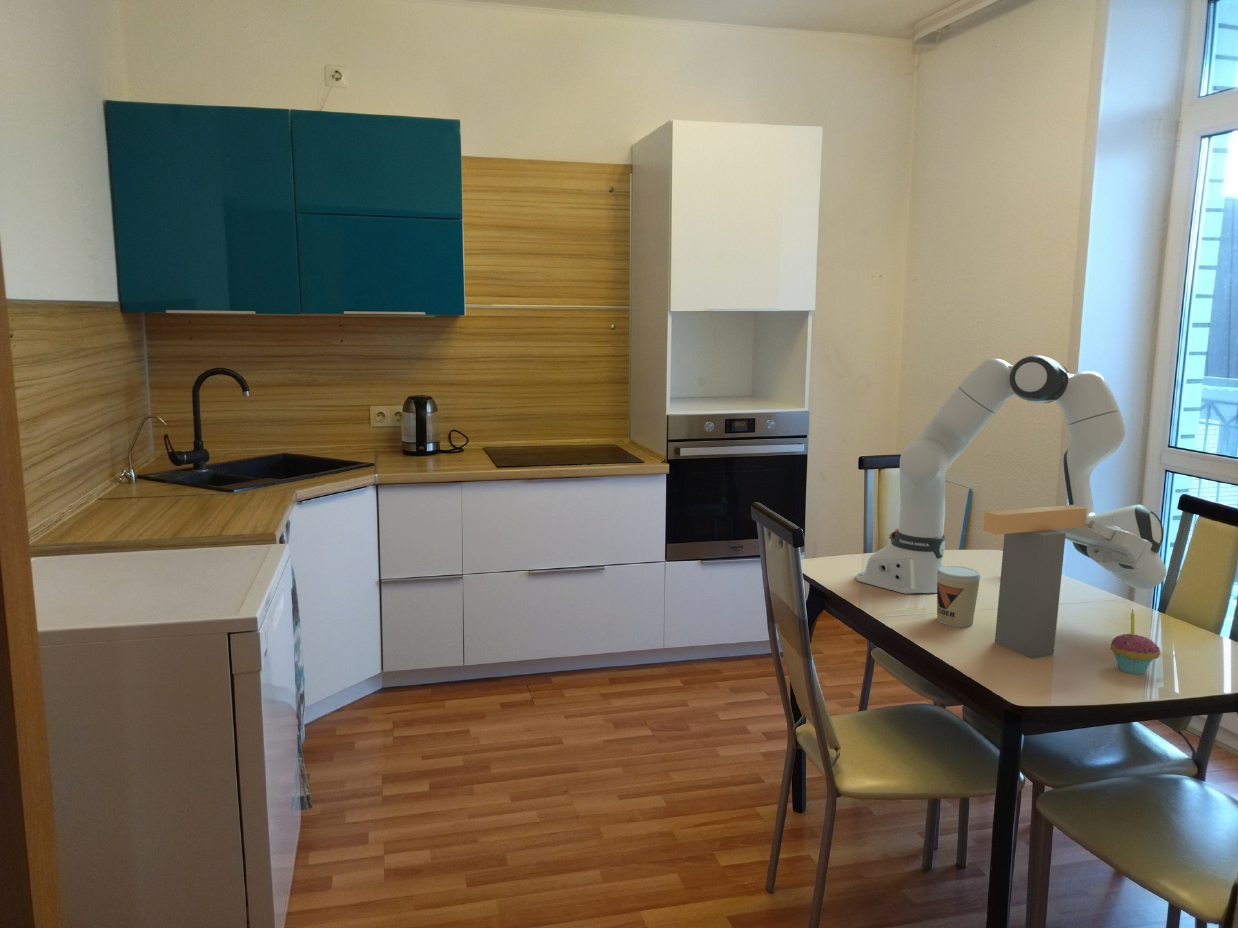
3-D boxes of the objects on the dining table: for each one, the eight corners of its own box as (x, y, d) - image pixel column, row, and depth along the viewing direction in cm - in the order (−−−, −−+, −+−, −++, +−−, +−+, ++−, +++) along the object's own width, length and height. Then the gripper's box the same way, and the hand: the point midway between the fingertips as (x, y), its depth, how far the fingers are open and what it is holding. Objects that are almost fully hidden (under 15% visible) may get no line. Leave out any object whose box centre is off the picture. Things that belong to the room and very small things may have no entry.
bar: (1070, 523, 190) (1072, 504, 189) (1085, 526, 186) (1087, 508, 186) (983, 530, 181) (984, 511, 180) (996, 534, 178) (998, 515, 177)
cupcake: (1098, 661, 181) (1105, 605, 179) (1138, 661, 182) (1144, 605, 180) (1126, 678, 173) (1132, 619, 171) (1167, 677, 173) (1174, 619, 171)
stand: (1016, 638, 194) (1027, 522, 189) (1053, 654, 184) (1065, 533, 180) (994, 641, 191) (1005, 524, 187) (1031, 658, 182) (1043, 535, 178)
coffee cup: (924, 617, 207) (928, 567, 205) (955, 612, 211) (959, 563, 209) (954, 630, 198) (958, 578, 197) (985, 625, 202) (990, 574, 200)
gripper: (1077, 523, 202) (1040, 496, 197) (1159, 545, 184) (1122, 516, 178) (1064, 548, 202) (1027, 521, 197) (1145, 572, 183) (1107, 543, 178)
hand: (1072, 519), depth 187 cm, fingers open, 8 cm apart
